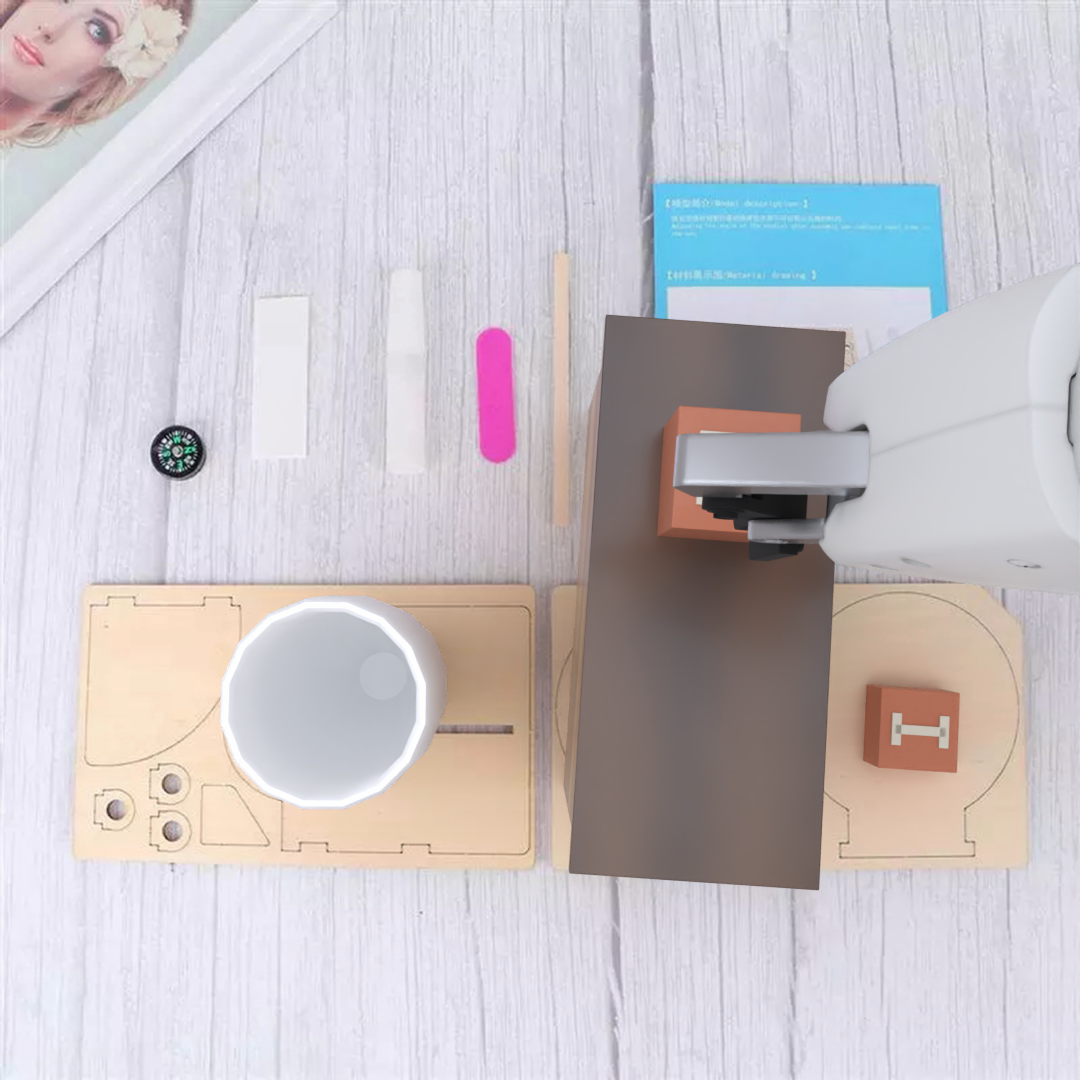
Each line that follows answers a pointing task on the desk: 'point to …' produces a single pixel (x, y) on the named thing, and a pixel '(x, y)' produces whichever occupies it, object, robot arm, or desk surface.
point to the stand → (581, 598)
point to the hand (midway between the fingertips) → (915, 523)
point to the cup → (332, 700)
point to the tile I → (911, 728)
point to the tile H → (685, 511)
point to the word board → (700, 630)
